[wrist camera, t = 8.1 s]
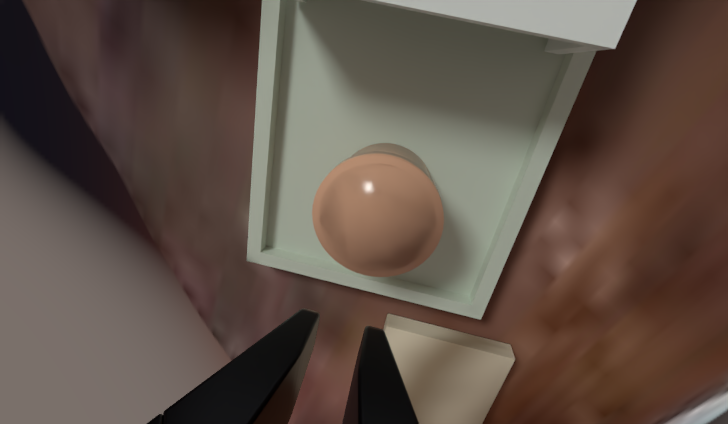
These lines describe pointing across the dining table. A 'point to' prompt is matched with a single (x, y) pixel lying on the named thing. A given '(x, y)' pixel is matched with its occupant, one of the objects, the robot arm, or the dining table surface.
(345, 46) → the propagator bed
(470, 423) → the birch coaster
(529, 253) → the dining table surface
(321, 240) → the round cabinet knob
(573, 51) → the frosted cover
